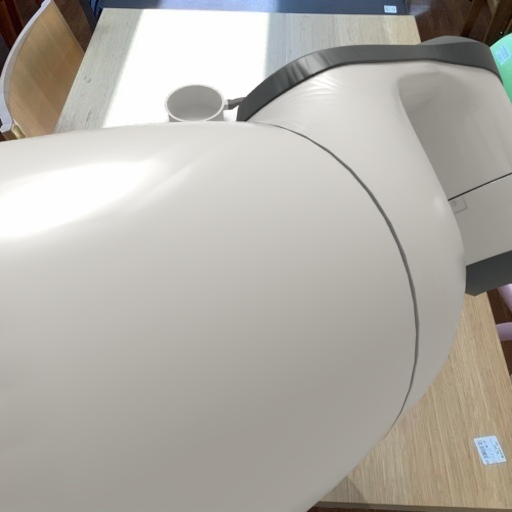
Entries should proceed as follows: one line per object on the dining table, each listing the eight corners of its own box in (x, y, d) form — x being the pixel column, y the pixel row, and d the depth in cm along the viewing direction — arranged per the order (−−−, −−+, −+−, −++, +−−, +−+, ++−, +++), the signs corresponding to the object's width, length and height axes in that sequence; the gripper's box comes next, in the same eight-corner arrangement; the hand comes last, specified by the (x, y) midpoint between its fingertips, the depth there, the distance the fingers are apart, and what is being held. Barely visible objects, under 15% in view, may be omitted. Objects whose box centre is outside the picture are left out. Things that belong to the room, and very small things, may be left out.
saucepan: (272, 137, 94) (273, 114, 89) (170, 148, 92) (165, 125, 87) (263, 100, 100) (263, 77, 95) (167, 109, 98) (163, 86, 94)
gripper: (388, 147, 50) (289, 202, 59) (411, 321, 39) (284, 359, 47) (418, 179, 54) (321, 227, 62) (447, 347, 42) (324, 378, 51)
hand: (305, 285), depth 55 cm, fingers open, 8 cm apart
